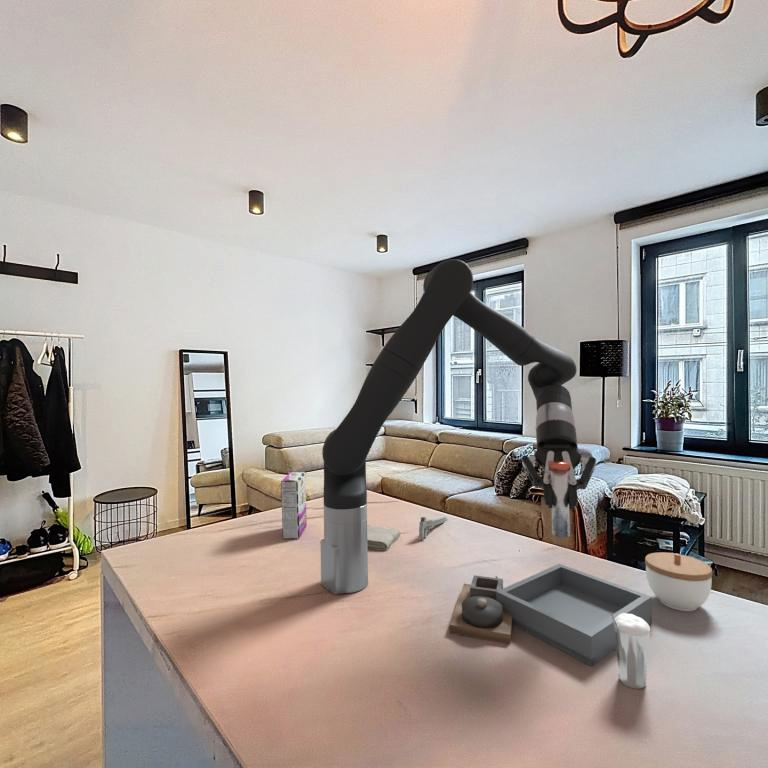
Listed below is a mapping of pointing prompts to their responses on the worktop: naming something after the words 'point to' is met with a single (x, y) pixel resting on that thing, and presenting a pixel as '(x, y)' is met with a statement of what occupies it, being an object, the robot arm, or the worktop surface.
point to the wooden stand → (481, 612)
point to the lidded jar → (678, 580)
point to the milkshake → (632, 649)
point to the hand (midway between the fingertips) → (561, 506)
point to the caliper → (428, 525)
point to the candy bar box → (293, 505)
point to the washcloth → (381, 537)
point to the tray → (572, 610)
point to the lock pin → (560, 498)
